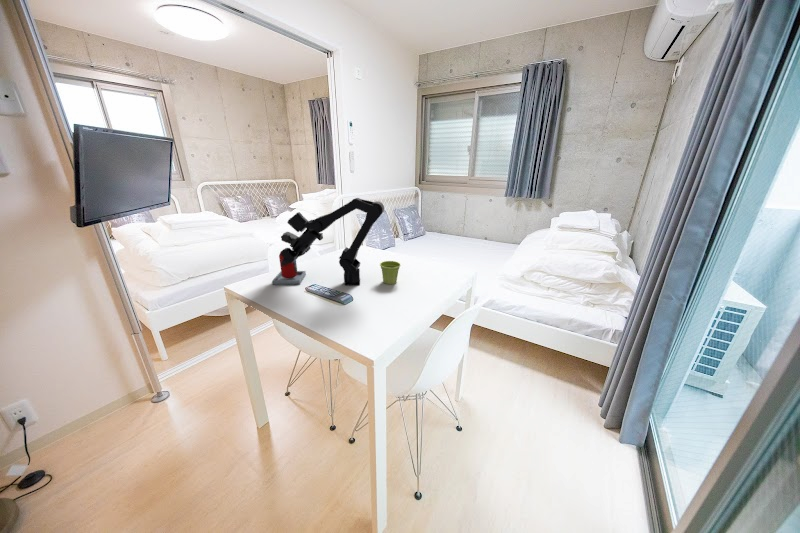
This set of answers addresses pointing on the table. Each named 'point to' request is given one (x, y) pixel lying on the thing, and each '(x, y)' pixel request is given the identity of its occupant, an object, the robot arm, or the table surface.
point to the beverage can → (288, 269)
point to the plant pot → (390, 271)
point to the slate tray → (289, 279)
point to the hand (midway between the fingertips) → (285, 262)
